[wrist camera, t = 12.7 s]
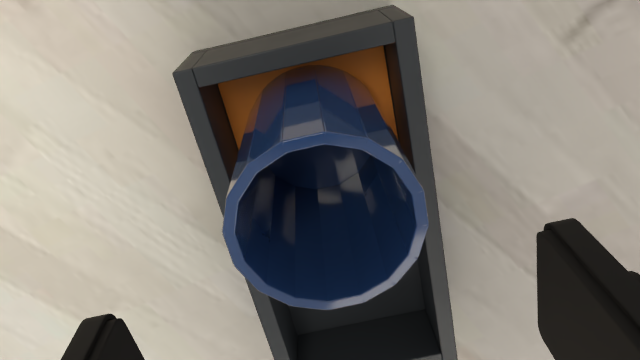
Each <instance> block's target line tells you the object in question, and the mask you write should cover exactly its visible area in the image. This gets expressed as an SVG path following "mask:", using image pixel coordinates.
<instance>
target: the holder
mask: <svg viewBox="0 0 640 360" xmlns="http://www.w3.org/2000/svg"><path fill="white" fill-rule="evenodd" d="M307 65H325V66H331V67H335V68H338V69H341V70H343V71H346V72H348V73H349V74H351V75H353V76H354V77H356V78H357V79H358V80H360V81H361V82H362V83H363V84H364V85H365V86H366V87H367V88H368V90H369V91H370V92H371V93H372V95H373V97H374V99H375V100H376V102H377V103H378V105H379V106H380V108H381V110H382V111H383V113H384V115H385V117H386V119H387V121H388V123H389V125H390V127H391V129H392V130H393V132H394V134H395V136H396V138H397V140H398V142H399V144H400V146H401V147H402V149H403V151H404V153H405V155H406V157H407V159H408V161H409V163H410V164H411V166H412V168H413V170H414V172H415V174H416V176H417V178H418V180H419V181H420V183H421V185H422V187H423V190H424V193H425V200H426V207H427V214H428V221H429V224H428V229H427V232H426V235H425V239H424V242H423V245H422V248H421V251H420V254H419V257H418V259H417V260H416V261H415V263H414V264H413V265H412V266H411V267H410V268H409V270H408V271H407V272H406V273H405V274H404V275H403V277H402V278H401V279H400V280H399V281H398V283H397V284H395V285H394V286H393V287H391V288H389V289H388V290H386V291H384V292H382V293H380V294H379V295H377V296H375V297H373V298H372V299H370V300H368V301H366V302H363V303H361V304H356V305H351V306H346V307H342V308H337V309H332V310H320V309H311V308H302V307H293V306H289V305H287V304H285V303H283V302H281V301H279V300H276V299H274V298H272V297H270V296H268V295H266V294H264V293H261V292H260V291H258V290H257V289H256V288H255V287H254V286H253V285H252V284H251V283H250V282H249V281H248V280H247V279H246V278H245V279H246V282H247V284H248V287H249V290H250V293H251V296H252V299H253V301H254V304H255V307H256V310H257V313H258V315H259V318H260V321H261V324H262V327H263V329H264V332H265V335H266V338H267V341H268V343H269V346H270V349H271V352H272V355H273V357H274V360H458V359H457V351H456V343H455V336H454V328H453V320H452V312H451V305H450V297H449V289H448V281H447V273H446V266H445V258H444V250H443V242H442V234H441V227H440V219H439V211H438V203H437V195H436V188H435V180H434V172H433V164H432V156H431V149H430V141H429V133H428V125H427V117H426V110H425V102H424V94H423V86H422V78H421V71H420V63H419V55H418V47H417V39H416V32H415V24H414V17H413V16H411V15H409V14H408V13H406V12H404V11H403V10H401V9H399V8H398V7H396V6H394V5H390V6H386V7H382V8H377V9H373V10H369V11H365V12H360V13H356V14H352V15H348V16H344V17H339V18H335V19H331V20H327V21H322V22H318V23H314V24H310V25H305V26H301V27H297V28H293V29H288V30H284V31H280V32H276V33H271V34H267V35H263V36H259V37H254V38H250V39H246V40H242V41H238V42H233V43H229V44H225V45H221V46H216V47H212V48H208V49H204V50H199V51H195V52H192V53H191V54H190V55H189V57H188V58H187V59H186V60H185V61H184V62H183V63H182V64H181V65H180V66H179V67H178V68H177V69H176V70H175V71H174V72H173V77H174V80H175V83H176V86H177V88H178V91H179V94H180V97H181V100H182V102H183V105H184V108H185V111H186V114H187V116H188V119H189V122H190V125H191V128H192V130H193V133H194V136H195V139H196V142H197V144H198V147H199V150H200V153H201V156H202V158H203V161H204V164H205V167H206V170H207V172H208V175H209V178H210V181H211V184H212V186H213V189H214V192H215V195H216V198H217V200H218V203H219V206H220V209H221V212H222V214H223V217H224V212H225V202H226V197H227V193H228V189H229V186H230V182H231V178H232V175H233V171H234V167H235V164H236V160H237V156H238V153H239V149H240V145H241V142H242V138H243V135H244V131H245V127H246V124H247V120H248V116H249V113H250V110H251V109H252V107H253V105H254V103H255V101H256V99H257V97H258V96H259V94H260V93H261V91H262V90H263V89H264V88H265V87H266V86H267V84H268V83H270V82H271V81H272V80H273V79H274V78H276V77H277V76H279V75H281V74H282V73H284V72H286V71H289V70H291V69H294V68H297V67H301V66H307Z"/></svg>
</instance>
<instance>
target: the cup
mask: <svg viewBox="0 0 640 360" xmlns="http://www.w3.org/2000/svg"><path fill="white" fill-rule="evenodd" d="M428 224H429V221H428V214H427V207H426V200H425V193H424V190H423V187H422V185H421V183H420V181H419V180H418V178H417V176H416V174H415V172H414V170H413V168H412V166H411V164H410V163H409V161H408V159H407V157H406V155H405V153H404V151H403V149H402V147H401V146H400V144H399V142H398V140H397V138H396V136H395V134H394V132H393V130H392V129H391V127H390V125H389V123H388V121H387V119H386V117H385V115H384V113H383V111H382V110H381V108H380V106H379V105H378V103H377V102H376V100H375V99H374V97H373V95H372V93H371V92H370V91H369V90H368V88H367V87H366V86H365V85H364V84H363V83H362V82H361V81H360V80H358V79H357V78H356V77H354V76H353V75H351V74H349V73H348V72H346V71H343V70H341V69H338V68H335V67H331V66H325V65H307V66H301V67H297V68H294V69H291V70H289V71H286V72H284V73H282V74H281V75H279V76H277V77H276V78H274V79H273V80H272V81H271V82H270V83H268V84H267V86H266V87H265V88H264V89H263V90H262V91H261V93H260V94H259V96H258V97H257V99H256V101H255V103H254V105H253V107H252V109H251V110H250V113H249V116H248V120H247V124H246V127H245V131H244V135H243V138H242V142H241V145H240V149H239V153H238V156H237V160H236V164H235V167H234V171H233V175H232V178H231V182H230V186H229V189H228V193H227V197H226V202H225V212H224V221H223V230H222V232H223V237H224V239H225V242H226V245H227V248H228V250H229V253H230V256H231V259H232V261H233V264H234V266H235V267H236V268H237V269H238V270H239V271H240V273H241V274H242V275H243V276H244V277H245V278H246V279H247V280H248V281H249V282H250V283H251V284H252V285H253V286H254V287H255V288H256V289H257V290H258V291H260V292H261V293H264V294H266V295H268V296H270V297H272V298H274V299H276V300H279V301H281V302H283V303H285V304H287V305H289V306H293V307H302V308H311V309H320V310H332V309H337V308H342V307H346V306H351V305H356V304H361V303H363V302H366V301H368V300H370V299H372V298H373V297H375V296H377V295H379V294H380V293H382V292H384V291H386V290H388V289H389V288H391V287H393V286H394V285H395V284H397V283H398V281H399V280H400V279H401V278H402V277H403V275H404V274H405V273H406V272H407V271H408V270H409V268H410V267H411V266H412V265H413V264H414V263H415V261H416V260H417V259H418V257H419V254H420V251H421V248H422V245H423V242H424V239H425V235H426V232H427V229H428Z"/></svg>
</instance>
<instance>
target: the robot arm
mask: <svg viewBox="0 0 640 360" xmlns="http://www.w3.org/2000/svg"><path fill="white" fill-rule="evenodd" d="M537 297H538V327H539V331H540V334H541V336H542V339H543V341H544V342H545V344H546V346H547V347H548V349H549V350H550V352H551V354H552V355H553V357H554V359H555V360H640V275H639V274H638V273H636V272H633V271H627V270H626V269H625V268H624V267H623V266H622V265H621V264H620V263H619V262H618V261H617V260H616V259H615V258H614V257H613V256H612V255H611V254H610V253H609V252H608V251H607V250H606V249H605V248H604V247H603V246H602V245H601V244H600V243H599V242H598V241H597V240H596V239H595V238H594V237H593V236H592V235H591V234H590V233H589V232H588V231H587V230H586V229H585V228H584V227H583V225H582V224H581V223H580V222H579V221H577V220H576V219H574V218H571V219H566V220H561V221H556V222H551V223H547V224H545V226H544V231H541V232H538V233H537ZM61 360H145V359H144V357H143V356H142V354H141V352H140V350H139V348H138V346H137V344H136V343H135V341H134V339H133V337H132V335H131V333H130V331H129V330H128V328H127V326H126V324H125V322H124V321H123V320H122V319H119V318H118V319H117V318H116V317H115V316H114V315H113V314H106V315H101V316H96V317H91V318H86V319H85V320H83V321H82V322H81V324H80V326H79V327H78V329H77V331H76V333H75V335H74V337H73V338H72V340H71V342H70V344H69V346H68V347H67V349H66V351H65V353H64V355H63V357H62V358H61Z"/></svg>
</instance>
